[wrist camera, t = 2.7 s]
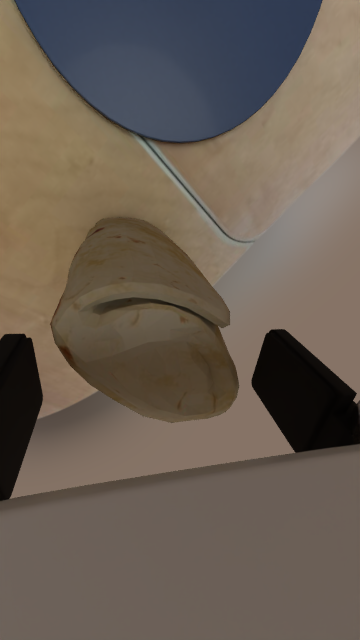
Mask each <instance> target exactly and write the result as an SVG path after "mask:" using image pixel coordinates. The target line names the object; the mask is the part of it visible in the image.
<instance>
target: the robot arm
mask: <svg viewBox="0 0 360 640" xmlns="http://www.w3.org/2000/svg"><path fill="white" fill-rule="evenodd" d="M252 387H253V388H254V390H255V392H256V393H257V395H258V396H259V398H260V399H261V401H262V402H263V404H264V405H265V407H266V409H267V410H268V411H269V413H270V415H271V416H272V418H273V419H274V421H275V422H276V424H277V425H278V427H279V428H280V430H281V432H282V433H283V435H284V436H285V438H286V439H287V441H288V442H289V444H290V445H291V447H292V448H293V450H294V451H295V453H292V454H285V455H278V456H271V457H265V458H258V459H251V460H245V461H238V462H231V463H225V464H218V465H212V466H206V467H200V468H192V469H186V470H179V471H173V472H167V473H161V474H154V475H148V476H141V477H135V478H130V479H123V480H116V481H110V482H104V483H98V484H92V485H85V486H79V487H74V488H68V489H62V490H57V491H51V492H45V493H39V494H34V495H28V496H22V497H17V498H12V499H9V498H10V497H11V494H12V491H13V488H14V485H15V482H16V480H17V477H18V474H19V471H20V468H21V465H22V461H23V458H24V456H25V453H26V450H27V447H28V444H29V441H30V438H31V435H32V432H33V429H34V426H35V423H36V420H37V417H38V414H39V411H40V408H41V405H42V400H43V394H42V389H41V384H40V378H39V373H38V368H37V363H36V358H35V352H34V347H33V342H32V339H31V338H26V336H25V334H5V335H4V336H3V337H2V338H1V340H0V640H360V401H359V402H358V403H357V404H356V403H355V402H354V401H353V400H354V398H355V396H356V394H357V393H356V392H355V391H353V390H352V389H351V388H350V387H349V386H348V385H347V384H346V383H344V382H343V381H342V380H341V379H340V378H339V377H338V376H337V375H336V374H334V373H333V372H332V371H331V370H330V369H329V368H328V367H327V366H325V365H324V364H323V363H322V362H321V361H320V360H319V359H318V358H316V357H315V356H314V355H313V354H312V353H311V352H310V351H308V350H307V349H306V348H305V347H304V346H303V345H302V344H301V343H300V342H298V341H297V340H296V339H295V338H294V337H293V336H292V335H291V334H289V333H288V332H287V331H286V330H283V329H277V330H270V331H269V333H267V334H266V336H265V338H264V342H263V345H262V348H261V351H260V355H259V358H258V361H257V365H256V367H255V371H254V374H253V377H252Z"/></svg>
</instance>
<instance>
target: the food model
mask: <svg viewBox="0 0 360 640" xmlns="http://www.w3.org/2000/svg"><path fill="white" fill-rule="evenodd" d="M50 325H51V329H52V333H53V337H54V341H55V344H56V345H57V347H58V348H59V350H60V351H61V353H62V354H63V356H64V357H65V359H66V360H67V362H68V363H69V365H70V366H71V367H72V368H73V369H74V370H75V371H76V372H77V373H78V374H79V375H80V376H82V377H83V378H84V379H85V380H86V381H87V382H88V383H89V384H90V385H92V386H93V387H95V388H96V389H98V390H99V391H101V392H102V393H104V394H106V395H107V396H109V397H110V398H112V399H113V400H115V401H117V402H118V403H120V404H122V405H124V406H126V407H128V408H129V409H131V410H133V411H135V412H137V413H138V414H140V415H142V416H145V417H149V418H153V419H158V420H162V421H166V422H170V423H174V422H181V421H190V420H197V419H207V418H211V417H214V416H218V415H220V414H222V413H224V412H226V411H227V410H228V409H229V408H230V407H231V405H232V404H233V402H234V401H235V399H236V397H237V393H238V388H239V382H238V377H237V372H236V368H235V365H234V363H233V360H232V359H231V357H230V355H229V352H228V350H227V347H226V345H225V342H224V340H223V337H222V335H221V332H220V330H219V328H218V326H219V327H221V328H224V327H226V326H228V325H230V311H229V309H228V308H227V306H226V304H225V303H224V301H223V299H222V298H221V296H220V295H219V294H218V293H217V292H216V291H215V289H214V288H213V287H212V286H211V285H210V283H209V282H208V281H207V280H206V278H205V277H204V276H203V274H202V273H201V272H200V270H199V269H198V268H197V267H196V265H195V264H194V263H193V261H192V260H191V259H190V258H189V257H188V256H187V254H186V253H184V252H183V251H182V250H181V249H180V248H179V247H178V246H177V245H176V244H175V243H174V242H173V241H172V240H171V239H170V238H169V237H168V236H166V235H165V234H164V233H163V232H162V231H161V230H159V229H158V228H156V227H155V226H153V225H151V224H149V223H147V222H145V221H144V220H138V219H132V218H121V217H118V218H106V219H102V220H100V221H99V222H97V223H96V225H95V227H93V228H92V229H91V230H90V231H89V233H88V235H87V237H86V239H85V241H84V242H83V243H82V244H81V246H80V248H79V249H78V251H77V253H76V254H75V256H74V259H73V261H72V263H71V266H70V269H69V274H68V280H67V285H66V288H65V291H64V293H63V295H62V297H61V299H60V302H59V304H58V306H57V309H56V311H55V313H54V316H53V318H52V321H51V323H50Z"/></svg>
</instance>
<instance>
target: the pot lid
mask: <svg viewBox="0 0 360 640" xmlns="http://www.w3.org/2000/svg"><path fill="white" fill-rule="evenodd" d="M15 2H16V4H17V6H18V9H19V10H20V12H21V14H22V16H23V17H24V19H25V21H26V23H27V24H28V26H29V28H30V30H31V31H32V33H33V35H34V37H35V38H36V40H37V42H38V43H39V45H40V46H41V48H42V49H43V51H44V52H45V53H46V55H47V56H48V58H49V59H50V61H51V62H52V64H53V65H54V66H55V68H56V69H57V70H58V71H59V73H60V74H61V75H62V76H63V77H64V78H65V80H66V81H67V82H68V83H69V84H70V86H71V87H72V88H73V89H74V90H75V91H76V92H77V93H78V94H79V95H80V96H81V97H82V98H83V99H84V100H86V101H87V102H88V103H89V104H90V105H91V106H92V107H93V108H95V109H96V110H97V111H99V112H100V113H101V114H102V115H104V116H105V117H106V118H108V119H109V120H111V121H112V122H114V123H116V124H118V125H119V126H121V127H123V128H124V129H126V130H128V131H131V132H133V133H136V134H138V135H140V136H143V137H146V138H150V139H154V140H158V141H162V142H173V143H186V142H197V141H201V140H205V139H209V138H213V137H215V136H218V135H220V134H222V133H225V132H227V131H229V130H231V129H233V128H234V127H236V126H238V125H239V124H241V123H243V122H244V121H246V120H247V119H248V118H249V117H251V116H252V115H253V114H254V113H255V112H257V111H258V110H259V109H260V108H261V107H262V106H263V105H264V104H265V103H266V102H267V101H268V100H269V99H270V98H271V97H272V96H273V94H274V93H275V92H276V91H277V89H278V88H279V87H280V85H281V84H282V83H283V81H284V80H285V79H286V77H287V76H288V74H289V72H290V71H291V69H292V67H293V66H294V64H295V63H296V61H297V59H298V58H299V56H300V54H301V52H302V50H303V47H304V45H305V43H306V41H307V39H308V37H309V35H310V33H311V30H312V28H313V25H314V22H315V20H316V17H317V15H318V12H319V9H320V7H321V3H322V0H15Z"/></svg>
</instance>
